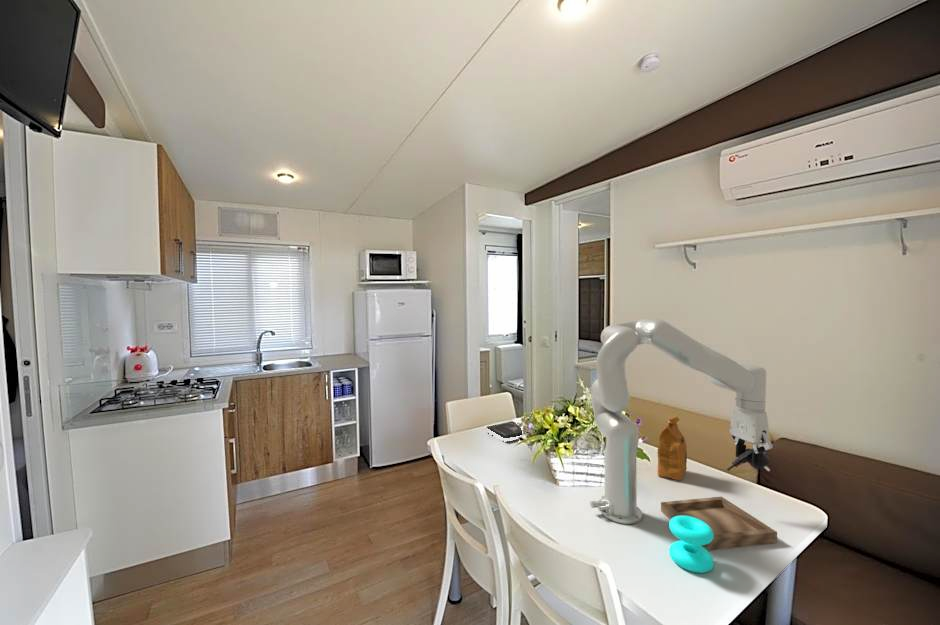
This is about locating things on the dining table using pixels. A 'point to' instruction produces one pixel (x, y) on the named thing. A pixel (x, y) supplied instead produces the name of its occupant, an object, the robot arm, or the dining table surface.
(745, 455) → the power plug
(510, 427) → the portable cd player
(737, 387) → the robot arm
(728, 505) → the wooden tray
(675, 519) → the donuts
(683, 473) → the coffee package
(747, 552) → the dining table surface
